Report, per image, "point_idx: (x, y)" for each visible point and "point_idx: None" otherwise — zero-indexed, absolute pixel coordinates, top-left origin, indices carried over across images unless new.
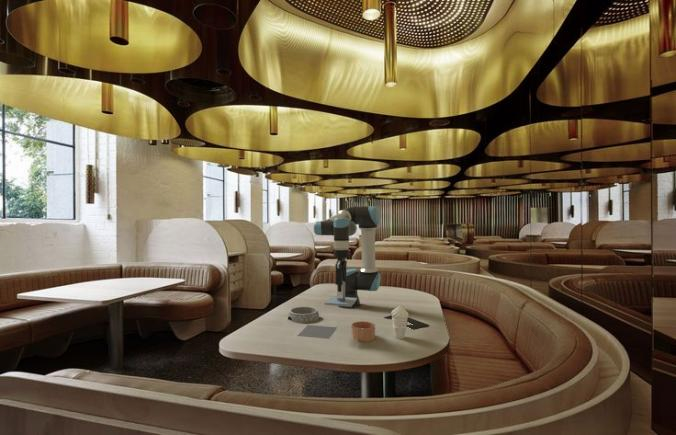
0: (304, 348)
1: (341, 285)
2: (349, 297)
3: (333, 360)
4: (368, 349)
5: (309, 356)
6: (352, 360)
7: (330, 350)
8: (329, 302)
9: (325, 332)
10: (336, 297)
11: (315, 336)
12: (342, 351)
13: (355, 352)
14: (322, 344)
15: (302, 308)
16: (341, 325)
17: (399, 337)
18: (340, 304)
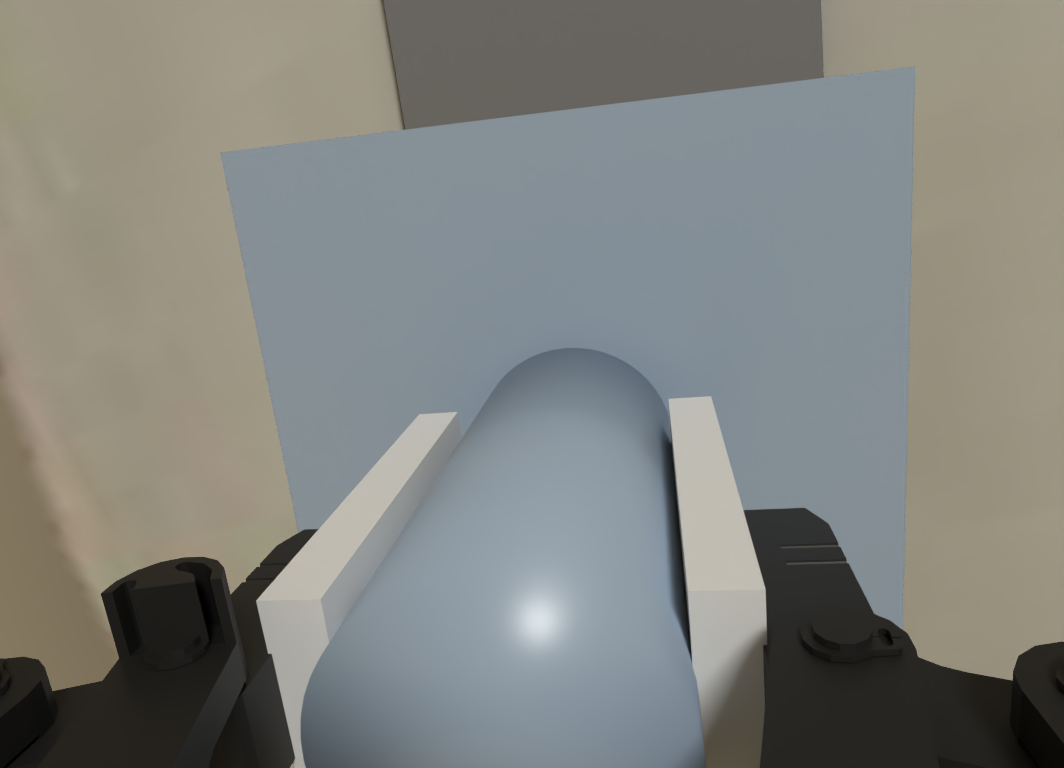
0: (121, 63)
1: (300, 744)
2: (896, 551)
3: (51, 423)
4: None
5: (6, 200)
6: (124, 558)
7: (202, 332)
8: (285, 257)
9: (589, 97)
10: (801, 247)
11: (417, 35)
12: (233, 440)
13: (265, 547)
14: None
15: None
16: (968, 183)
17: None
18: (298, 507)
